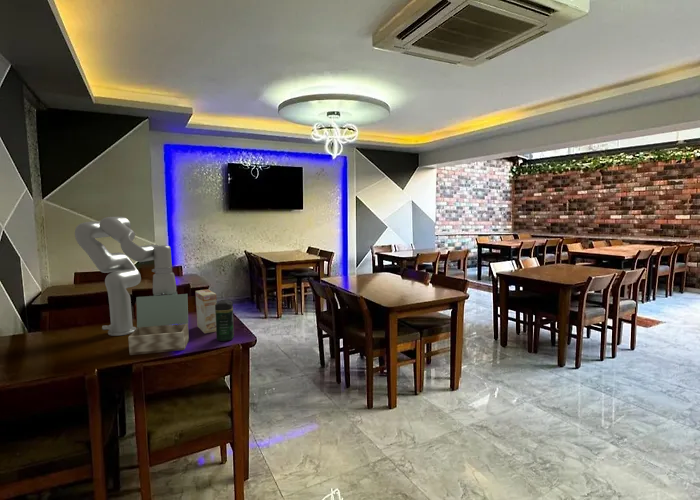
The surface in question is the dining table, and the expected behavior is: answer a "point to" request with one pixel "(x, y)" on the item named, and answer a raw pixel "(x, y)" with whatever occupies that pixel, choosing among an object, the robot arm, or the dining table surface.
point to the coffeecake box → (206, 310)
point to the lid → (162, 310)
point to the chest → (158, 339)
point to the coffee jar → (224, 320)
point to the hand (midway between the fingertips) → (166, 307)
